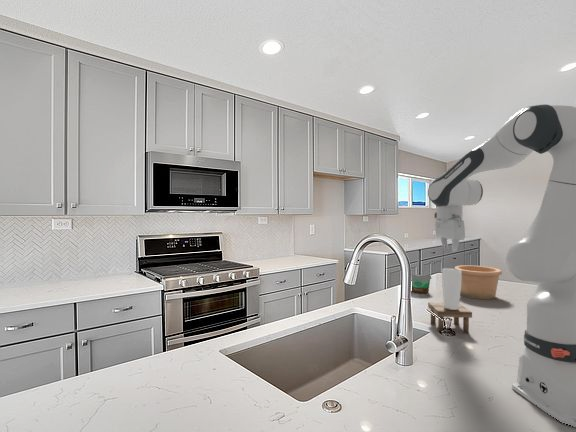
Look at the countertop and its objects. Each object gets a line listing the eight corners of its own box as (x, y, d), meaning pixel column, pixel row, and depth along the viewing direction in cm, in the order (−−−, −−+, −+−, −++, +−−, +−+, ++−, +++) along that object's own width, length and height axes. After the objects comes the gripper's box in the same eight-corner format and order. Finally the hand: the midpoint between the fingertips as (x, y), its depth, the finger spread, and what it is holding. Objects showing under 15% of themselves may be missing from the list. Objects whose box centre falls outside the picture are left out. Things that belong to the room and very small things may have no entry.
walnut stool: (471, 333, 123) (472, 312, 123) (438, 332, 125) (438, 311, 125) (458, 322, 135) (458, 303, 135) (428, 321, 137) (428, 302, 136)
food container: (408, 293, 182) (408, 275, 182) (407, 290, 188) (407, 273, 188) (432, 295, 179) (432, 276, 178) (431, 292, 184) (431, 274, 184)
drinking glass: (463, 311, 123) (464, 270, 124) (444, 310, 124) (444, 269, 125) (457, 307, 130) (458, 268, 130) (439, 306, 131) (439, 267, 132)
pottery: (447, 295, 179) (447, 268, 179) (463, 288, 194) (463, 263, 193) (493, 303, 163) (493, 274, 163) (506, 295, 178) (506, 268, 177)
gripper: (469, 214, 119) (469, 253, 119) (448, 214, 139) (448, 247, 139) (451, 214, 119) (451, 253, 119) (432, 214, 140) (432, 247, 140)
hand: (449, 249), depth 129 cm, fingers open, 8 cm apart
